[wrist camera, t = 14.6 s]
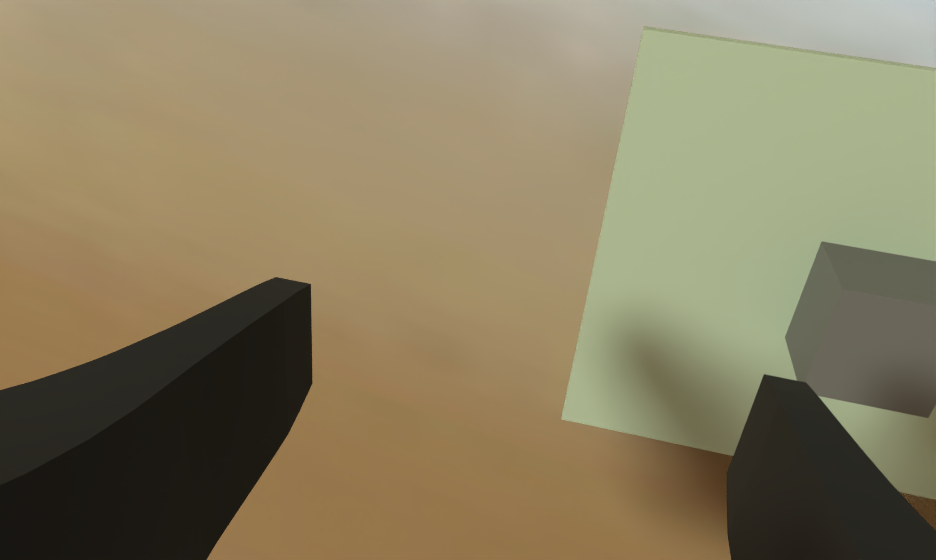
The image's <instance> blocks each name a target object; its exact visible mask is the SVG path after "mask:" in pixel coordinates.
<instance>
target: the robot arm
mask: <svg viewBox="0 0 936 560" xmlns="http://www.w3.org/2000/svg"><path fill="white" fill-rule="evenodd" d="M311 385H312V332H311V284H308V283H303V282H298V281H293V280H288V279H283V278H277V277H275V278H273V279H270V280H268V281H265V282H263V283H261V284H259V285H257V286H254V287H252V288H250V289H248V290H246V291H244V292H242V293H240V294H238V295H236V296H234V297H232V298H230V299H228V300H226V301H224V302H222V303H220V304H218V305H216V306H214V307H212V308H210V309H208V310H206V311H204V312H201V313H199V314H197V315H195V316H193V317H191V318H189V319H187V320H185V321H183V322H181V323H179V324H177V325H175V326H173V327H170V328H168V329H166V330H164V331H161V332H159V333H157V334H154V335H152V336H150V337H148V338H145V339H143V340H141V341H138V342H136V343H134V344H132V345H129V346H127V347H125V348H122V349H120V350H118V351H116V352H113V353H111V354H108V355H106V356H103V357H101V358H98V359H95V360H93V361H90V362H87V363H85V364H82V365H79V366H76V367H73V368H71V369H68V370H65V371H62V372H59V373H56V374H53V375H50V376H47V377H44V378H41V379H38V380H35V381H32V382H28V383H25V384H21V385H18V386H14V387H10V388H7V389H3V390H0V560H206V559H207V558H208V556H209V554H210V553H211V551H212V549H213V548H214V546H215V544H216V543H217V541H218V540H219V538H220V537H221V535H222V534H223V532H224V531H225V529H226V528H227V526H228V525H229V523H230V522H231V520H232V519H233V517H234V516H235V514H236V513H237V511H238V510H239V508H240V507H241V505H242V504H243V502H244V501H245V499H246V498H247V496H248V495H249V493H250V492H251V490H252V489H253V487H254V486H255V484H256V483H257V481H258V480H259V478H260V477H261V475H262V474H263V472H264V470H265V469H266V467H267V466H268V464H269V463H270V461H271V460H272V458H273V457H274V455H275V454H276V452H277V451H278V449H279V447H280V446H281V444H282V443H283V441H284V440H285V438H286V437H287V435H288V433H289V431H290V429H291V427H292V425H293V423H294V421H295V419H296V417H297V415H298V413H299V411H300V409H301V407H302V405H303V402H304V400H305V398H306V396H307V394H308V392H309V389H310V387H311ZM727 528H728V540H729V547H730V554H731V560H936V531H935V530H934V529H933V528H932V527H931V526H930V525H929V524H928V523H927V522H926V520H925V519H924V518H923V517H922V516H921V515H920V514H919V513H918V512H917V511H916V510H915V509H914V508H913V507H912V506H911V505H910V504H909V503H908V501H907V500H906V499H905V498H904V497H903V496H902V495H901V494H900V493H899V492H898V490H897V489H896V488H895V487H894V486H893V485H892V484H891V483H890V481H889V480H888V479H887V478H886V477H885V476H884V475H883V473H882V472H881V471H880V470H879V469H878V468H877V466H876V465H875V464H874V463H873V462H872V461H871V459H870V458H869V457H868V456H867V455H866V454H865V452H864V451H863V450H862V449H861V448H860V446H859V445H858V444H857V443H856V442H855V440H854V439H853V438H852V437H851V435H850V434H849V433H848V432H847V431H846V429H845V428H844V427H843V426H842V425H841V423H840V422H839V421H838V420H837V418H836V417H835V416H834V415H833V414H832V412H831V411H830V410H829V409H828V407H827V406H826V405H825V404H824V403H823V401H822V400H821V399H820V398H819V397H818V395H817V394H816V393H815V392H814V391H813V390H812V388H811V387H810V386H809V385H808V384H807V383H806V382H801V381H796V380H791V379H786V378H781V377H776V376H771V375H766V374H764V375H763V378H762V380H761V383H760V386H759V389H758V391H757V394H756V397H755V399H754V402H753V405H752V407H751V410H750V413H749V415H748V418H747V421H746V423H745V426H744V429H743V431H742V434H741V437H740V440H739V442H738V445H737V448H736V450H735V453H734V456H733V458H732V461H731V464H730V466H729V469H728V472H727Z"/></svg>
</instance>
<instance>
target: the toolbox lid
mask: <svg viewBox="0 0 936 560" xmlns="http://www.w3.org/2000/svg"><path fill="white" fill-rule="evenodd" d="M764 374H766V375H771V376H776V377H781V378H786V379H791V380H796V381H801V382H806V383H807V384H808V385H809V386H810V387H811V388H812V390H813V391H814V392H815V393H816V394H817V395H818V397H819V398H820V399H821V400H822V401H823V403H824V404H825V405H826V406H827V407H828V409H829V410H830V411H831V412H832V414H833V415H834V416H835V417H836V418H837V420H838V421H839V422H840V423H841V425H842V426H843V427H844V428H845V429H846V431H847V432H848V433H849V434H850V435H851V437H852V438H853V439H854V440H855V442H856V443H857V444H858V445H859V446H860V448H861V449H862V450H863V451H864V452H865V454H866V455H867V456H868V457H869V458H870V459H871V461H872V462H873V463H874V464H875V465H876V466H877V468H878V469H879V470H880V471H881V472H882V473H883V475H884V476H885V477H886V478H887V479H888V480H889V481H890V483H891V484H892V485H893V486H894V487H895V488H896V489H897V490H898V492H902V493H906V494H911V495H915V496H920V497H925V498H929V499H934V500H936V68H931V67H924V66H917V65H910V64H904V63H897V62H890V61H883V60H876V59H869V58H862V57H855V56H848V55H841V54H834V53H827V52H820V51H813V50H806V49H799V48H792V47H785V46H778V45H771V44H764V43H757V42H750V41H743V40H736V39H729V38H722V37H715V36H708V35H701V34H694V33H687V32H680V31H673V30H666V29H659V28H652V27H645V26H644V27H643V32H642V37H641V41H640V46H639V51H638V56H637V60H636V65H635V70H634V75H633V79H632V84H631V89H630V94H629V98H628V103H627V108H626V113H625V117H624V122H623V127H622V132H621V136H620V141H619V146H618V151H617V155H616V160H615V165H614V170H613V174H612V179H611V184H610V189H609V193H608V198H607V203H606V208H605V212H604V217H603V222H602V227H601V231H600V236H599V241H598V246H597V250H596V255H595V260H594V265H593V269H592V274H591V279H590V284H589V288H588V293H587V298H586V303H585V307H584V312H583V317H582V321H581V326H580V331H579V336H578V340H577V345H576V350H575V355H574V359H573V364H572V369H571V374H570V378H569V383H568V388H567V393H566V397H565V402H564V407H563V412H562V418H561V419H563V420H568V421H572V422H577V423H582V424H586V425H591V426H596V427H600V428H605V429H610V430H614V431H619V432H623V433H628V434H633V435H637V436H642V437H647V438H651V439H656V440H661V441H665V442H670V443H674V444H679V445H684V446H688V447H693V448H698V449H702V450H707V451H711V452H716V453H721V454H725V455H730V456H734V453H735V450H736V448H737V445H738V442H739V440H740V437H741V434H742V431H743V429H744V426H745V423H746V421H747V418H748V415H749V413H750V410H751V407H752V405H753V402H754V399H755V397H756V394H757V391H758V389H759V386H760V383H761V380H762V378H763V375H764Z"/></svg>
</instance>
